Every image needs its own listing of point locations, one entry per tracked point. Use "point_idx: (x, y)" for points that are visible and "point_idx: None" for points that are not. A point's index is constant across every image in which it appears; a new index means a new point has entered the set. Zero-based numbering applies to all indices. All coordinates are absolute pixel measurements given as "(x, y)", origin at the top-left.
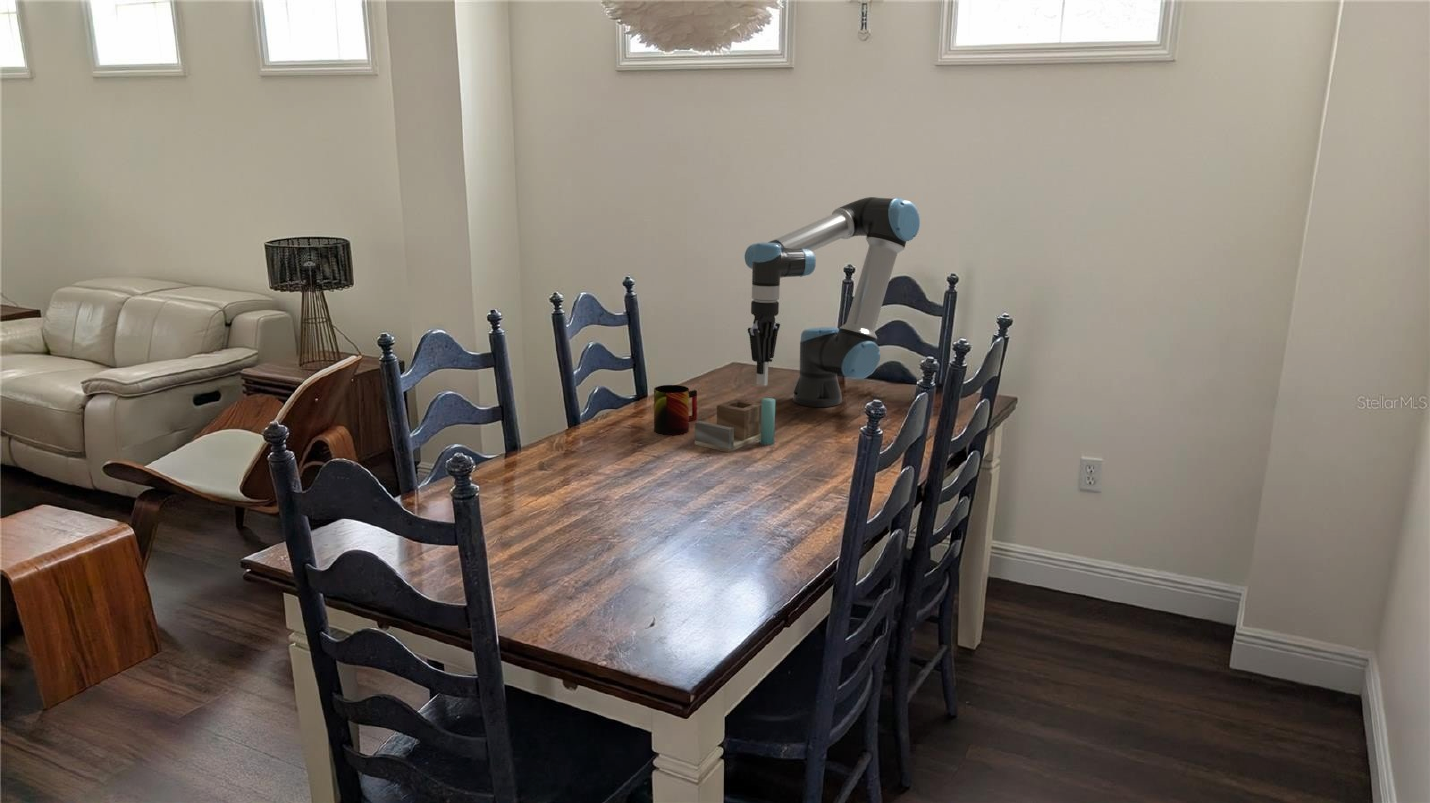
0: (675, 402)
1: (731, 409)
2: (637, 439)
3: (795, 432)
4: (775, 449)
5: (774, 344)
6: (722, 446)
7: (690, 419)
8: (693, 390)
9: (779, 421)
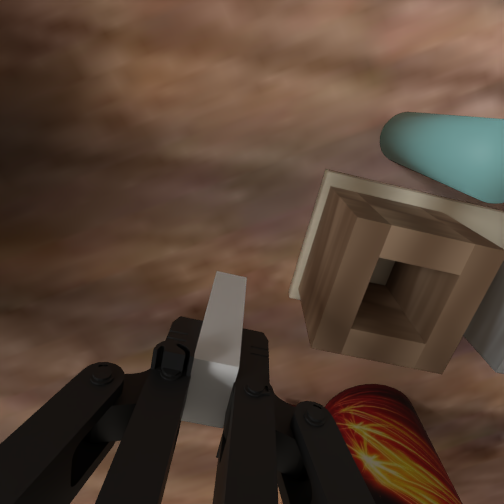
0: (454, 491)
1: (473, 311)
2: (467, 454)
3: (227, 85)
4: (473, 80)
5: (2, 480)
6: None
7: None
8: None
9: (121, 192)
